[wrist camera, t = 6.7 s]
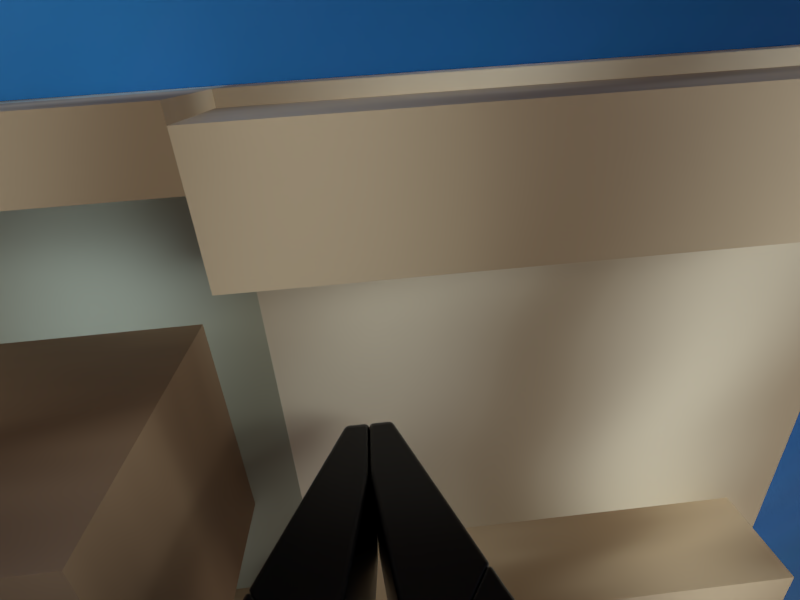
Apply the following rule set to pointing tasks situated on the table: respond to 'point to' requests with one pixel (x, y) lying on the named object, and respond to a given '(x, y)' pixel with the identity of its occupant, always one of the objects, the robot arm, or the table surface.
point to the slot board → (459, 291)
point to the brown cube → (119, 470)
